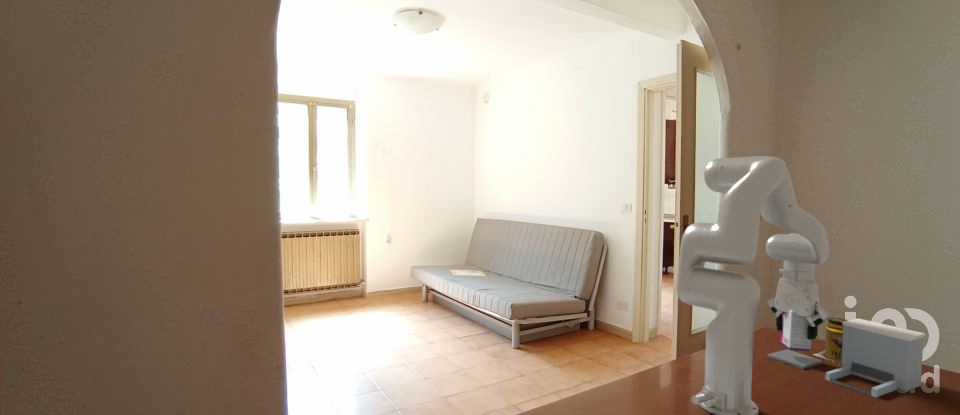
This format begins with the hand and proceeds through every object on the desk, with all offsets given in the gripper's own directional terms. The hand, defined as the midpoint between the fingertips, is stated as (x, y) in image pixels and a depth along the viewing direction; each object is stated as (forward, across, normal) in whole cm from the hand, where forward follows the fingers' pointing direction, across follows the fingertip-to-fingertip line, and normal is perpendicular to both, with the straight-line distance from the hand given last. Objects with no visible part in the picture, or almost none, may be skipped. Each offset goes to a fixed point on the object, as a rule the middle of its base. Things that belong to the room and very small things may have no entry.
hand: (795, 334), depth 132 cm
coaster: (+8, 0, 0) cm, 8 cm away
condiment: (+8, +4, +13) cm, 16 cm away
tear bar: (+8, +17, -7) cm, 20 cm away
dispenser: (+8, +17, +2) cm, 19 cm away
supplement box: (+4, 0, 0) cm, 4 cm away
